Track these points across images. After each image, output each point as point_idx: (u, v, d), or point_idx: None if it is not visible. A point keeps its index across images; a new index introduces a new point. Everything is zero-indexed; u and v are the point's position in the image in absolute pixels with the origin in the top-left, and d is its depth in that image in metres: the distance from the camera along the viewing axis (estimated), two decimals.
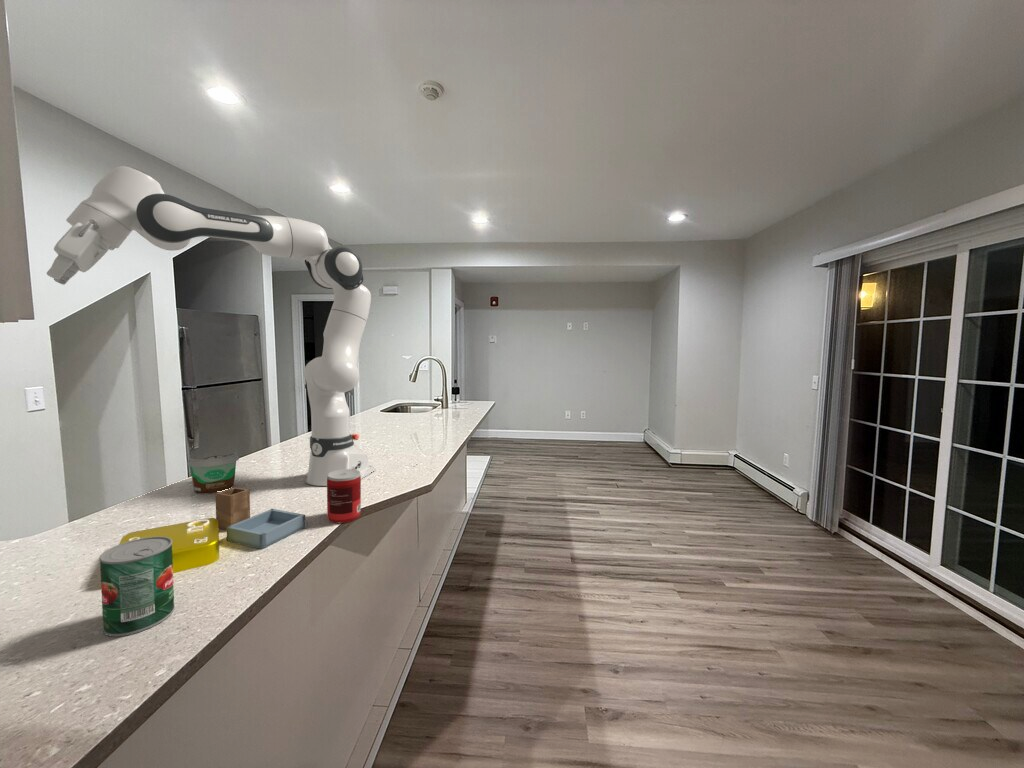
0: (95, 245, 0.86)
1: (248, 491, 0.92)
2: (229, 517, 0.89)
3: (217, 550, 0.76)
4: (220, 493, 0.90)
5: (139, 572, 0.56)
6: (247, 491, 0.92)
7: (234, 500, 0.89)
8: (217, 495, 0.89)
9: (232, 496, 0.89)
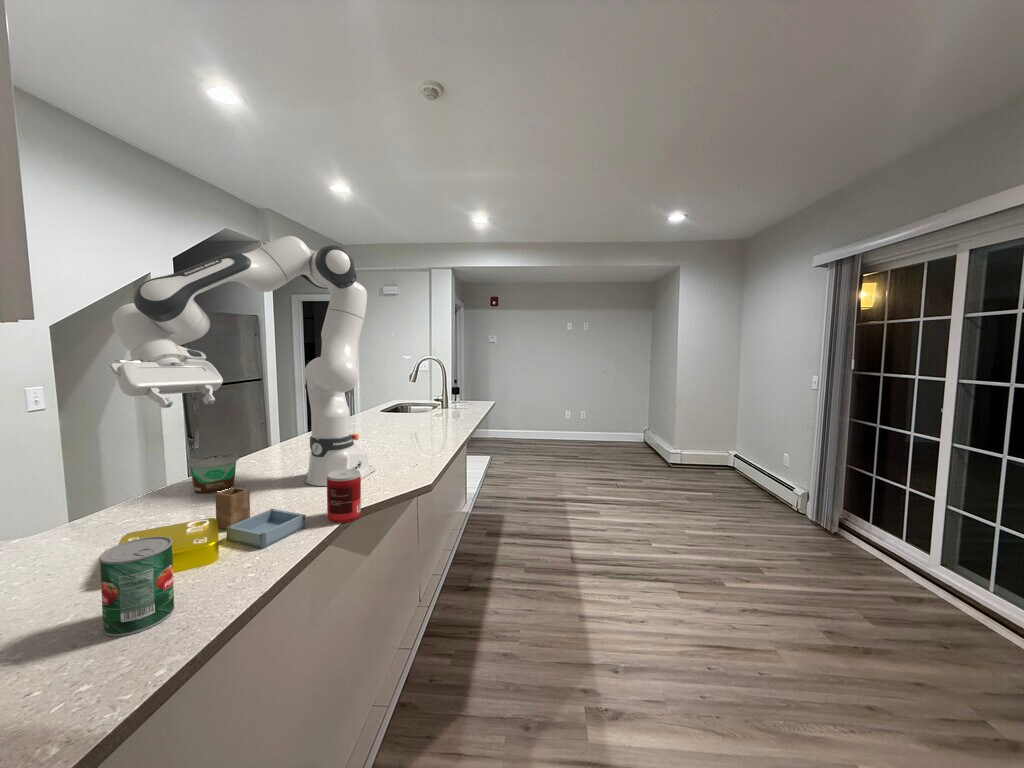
0: (163, 367, 0.93)
1: (248, 491, 0.92)
2: (229, 517, 0.89)
3: (216, 551, 0.76)
4: (220, 493, 0.90)
5: (139, 572, 0.56)
6: (247, 491, 0.92)
7: (234, 500, 0.89)
8: (217, 495, 0.89)
9: (232, 496, 0.89)
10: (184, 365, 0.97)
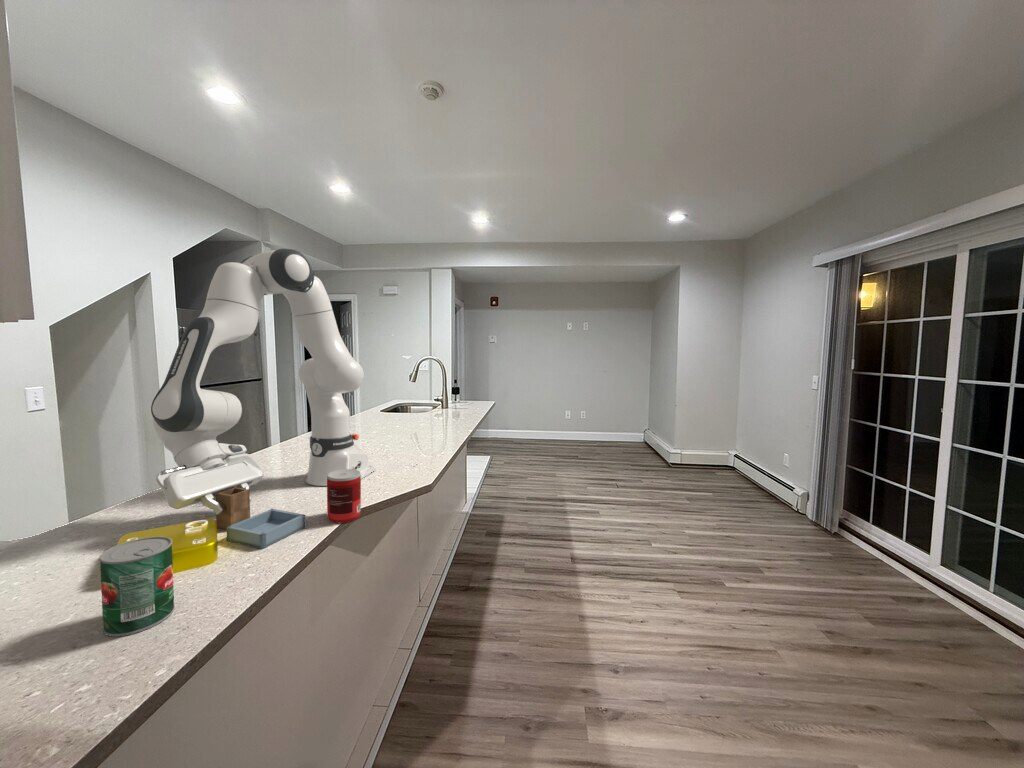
0: (207, 471, 0.91)
1: (248, 491, 0.92)
2: (229, 517, 0.89)
3: (215, 551, 0.76)
4: (220, 493, 0.90)
5: (139, 572, 0.56)
6: (247, 491, 0.92)
7: (234, 500, 0.89)
8: (217, 495, 0.89)
9: (232, 496, 0.89)
10: (226, 463, 0.95)
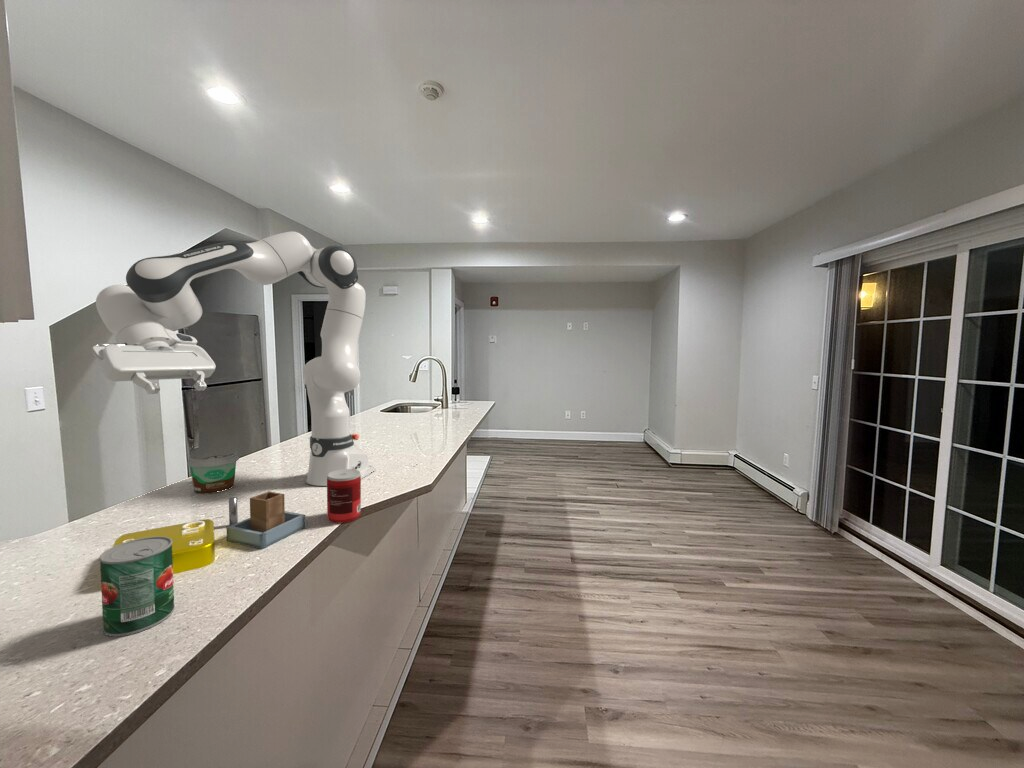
0: (150, 351, 0.87)
1: (283, 495, 0.89)
2: (264, 523, 0.85)
3: (212, 552, 0.76)
4: (255, 498, 0.86)
5: (139, 572, 0.56)
6: (281, 495, 0.88)
7: (269, 505, 0.85)
8: (252, 500, 0.86)
9: (268, 501, 0.85)
10: (173, 350, 0.91)
